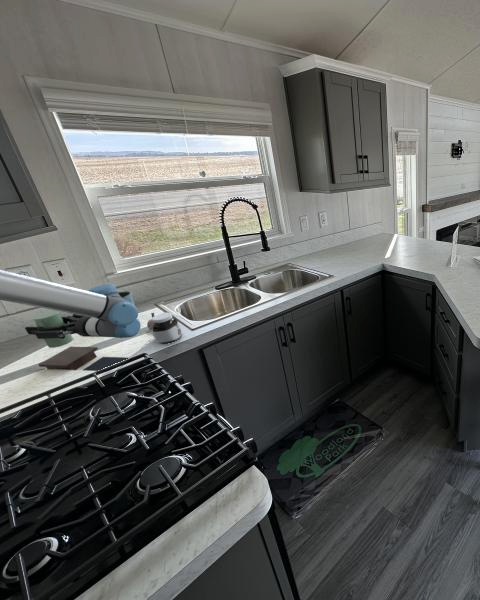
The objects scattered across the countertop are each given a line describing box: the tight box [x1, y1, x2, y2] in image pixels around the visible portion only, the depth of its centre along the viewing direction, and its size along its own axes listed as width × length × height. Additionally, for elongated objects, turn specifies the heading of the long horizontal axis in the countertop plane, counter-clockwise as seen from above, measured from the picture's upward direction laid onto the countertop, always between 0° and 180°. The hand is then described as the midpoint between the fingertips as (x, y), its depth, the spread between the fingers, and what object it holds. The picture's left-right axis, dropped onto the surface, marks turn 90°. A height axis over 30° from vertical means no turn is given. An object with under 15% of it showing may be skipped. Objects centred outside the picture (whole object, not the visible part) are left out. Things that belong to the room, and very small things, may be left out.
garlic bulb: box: [146, 312, 155, 331], centre depth 150 cm, size 8×7×8 cm
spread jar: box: [150, 312, 182, 345], centre depth 140 cm, size 12×11×12 cm
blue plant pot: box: [118, 290, 136, 307], centre depth 161 cm, size 10×10×12 cm
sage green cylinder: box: [31, 310, 74, 349], centre depth 121 cm, size 7×7×12 cm
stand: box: [37, 346, 99, 371], centre depth 127 cm, size 12×12×4 cm
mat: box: [82, 356, 129, 372], centre depth 124 cm, size 13×13×1 cm
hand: (39, 325), depth 121 cm, fingers closed on sage green cylinder, 7 cm apart
